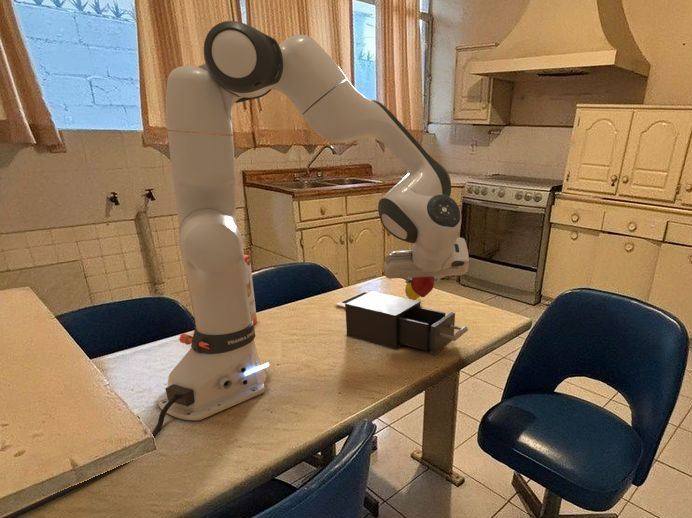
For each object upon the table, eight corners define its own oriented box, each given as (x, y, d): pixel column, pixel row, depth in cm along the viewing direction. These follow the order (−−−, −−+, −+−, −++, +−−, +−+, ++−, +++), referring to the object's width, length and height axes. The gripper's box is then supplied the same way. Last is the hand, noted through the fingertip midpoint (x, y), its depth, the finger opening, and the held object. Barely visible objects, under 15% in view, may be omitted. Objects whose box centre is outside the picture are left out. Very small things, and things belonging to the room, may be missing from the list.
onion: (407, 298, 115) (406, 268, 112) (417, 292, 120) (417, 262, 117) (428, 302, 113) (428, 271, 110) (437, 295, 118) (437, 265, 115)
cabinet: (420, 332, 131) (420, 301, 127) (396, 349, 120) (395, 315, 117) (372, 320, 138) (372, 291, 135) (346, 335, 128) (345, 303, 125)
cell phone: (335, 305, 150) (335, 303, 149) (366, 292, 162) (366, 290, 162) (353, 310, 146) (353, 308, 145) (383, 296, 158) (383, 294, 158)
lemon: (424, 301, 155) (425, 278, 152) (413, 305, 151) (413, 282, 148) (413, 297, 159) (413, 275, 156) (401, 300, 155) (401, 278, 152)
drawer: (470, 343, 122) (471, 316, 119) (451, 360, 113) (452, 331, 110) (406, 327, 132) (406, 302, 129) (383, 341, 123) (383, 314, 120)
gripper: (386, 265, 100) (382, 293, 113) (475, 261, 104) (462, 288, 116) (384, 241, 102) (380, 270, 115) (471, 238, 106) (458, 267, 119)
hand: (422, 279), depth 116 cm, fingers closed on onion, 6 cm apart
